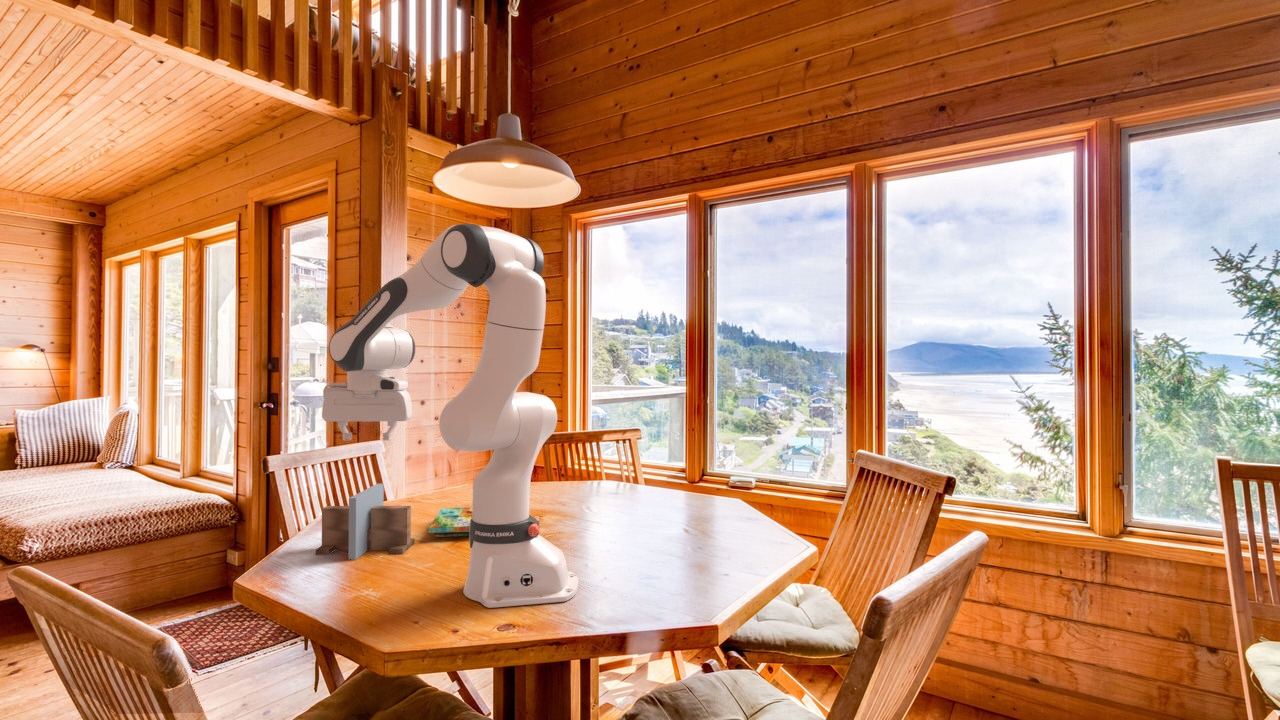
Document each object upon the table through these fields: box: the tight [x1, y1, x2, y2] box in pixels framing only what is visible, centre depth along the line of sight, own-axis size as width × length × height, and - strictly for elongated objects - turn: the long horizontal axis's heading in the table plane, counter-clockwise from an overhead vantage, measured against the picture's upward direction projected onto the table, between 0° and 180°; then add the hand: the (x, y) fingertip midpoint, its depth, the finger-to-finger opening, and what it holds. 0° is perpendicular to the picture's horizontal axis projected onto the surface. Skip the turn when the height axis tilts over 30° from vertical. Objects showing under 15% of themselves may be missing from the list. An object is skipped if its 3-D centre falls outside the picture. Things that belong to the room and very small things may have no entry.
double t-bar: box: [315, 505, 415, 555], centre depth 143 cm, size 20×8×10 cm, turn 92°
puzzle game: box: [428, 506, 473, 538], centre depth 160 cm, size 12×5×20 cm
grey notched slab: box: [348, 483, 385, 561], centre depth 143 cm, size 16×2×14 cm, turn 2°
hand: (367, 440), depth 143 cm, fingers open, 8 cm apart
